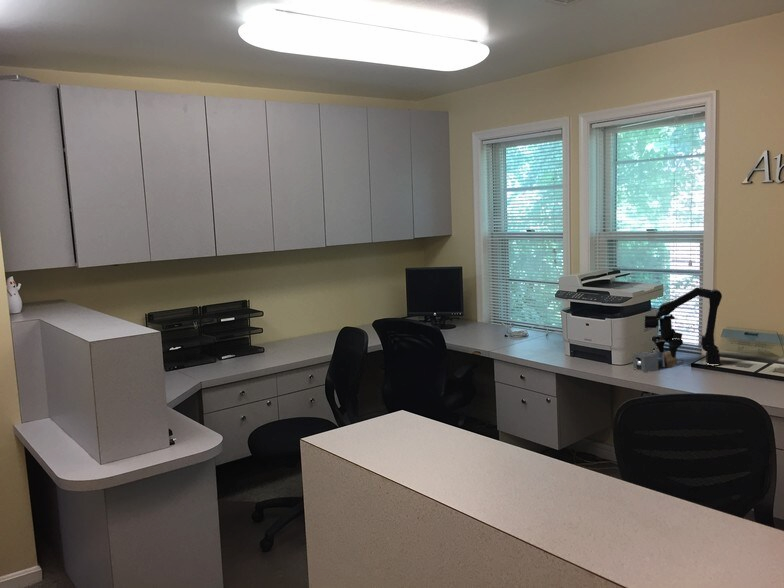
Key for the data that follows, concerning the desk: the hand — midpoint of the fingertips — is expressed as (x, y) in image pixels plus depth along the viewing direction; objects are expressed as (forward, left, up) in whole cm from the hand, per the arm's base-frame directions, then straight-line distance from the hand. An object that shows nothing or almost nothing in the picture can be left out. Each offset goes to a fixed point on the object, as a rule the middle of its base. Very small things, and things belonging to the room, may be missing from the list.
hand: (667, 356), depth 343 cm
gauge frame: (+2, +9, -5) cm, 10 cm away
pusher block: (0, 0, -5) cm, 5 cm away
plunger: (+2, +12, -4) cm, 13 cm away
